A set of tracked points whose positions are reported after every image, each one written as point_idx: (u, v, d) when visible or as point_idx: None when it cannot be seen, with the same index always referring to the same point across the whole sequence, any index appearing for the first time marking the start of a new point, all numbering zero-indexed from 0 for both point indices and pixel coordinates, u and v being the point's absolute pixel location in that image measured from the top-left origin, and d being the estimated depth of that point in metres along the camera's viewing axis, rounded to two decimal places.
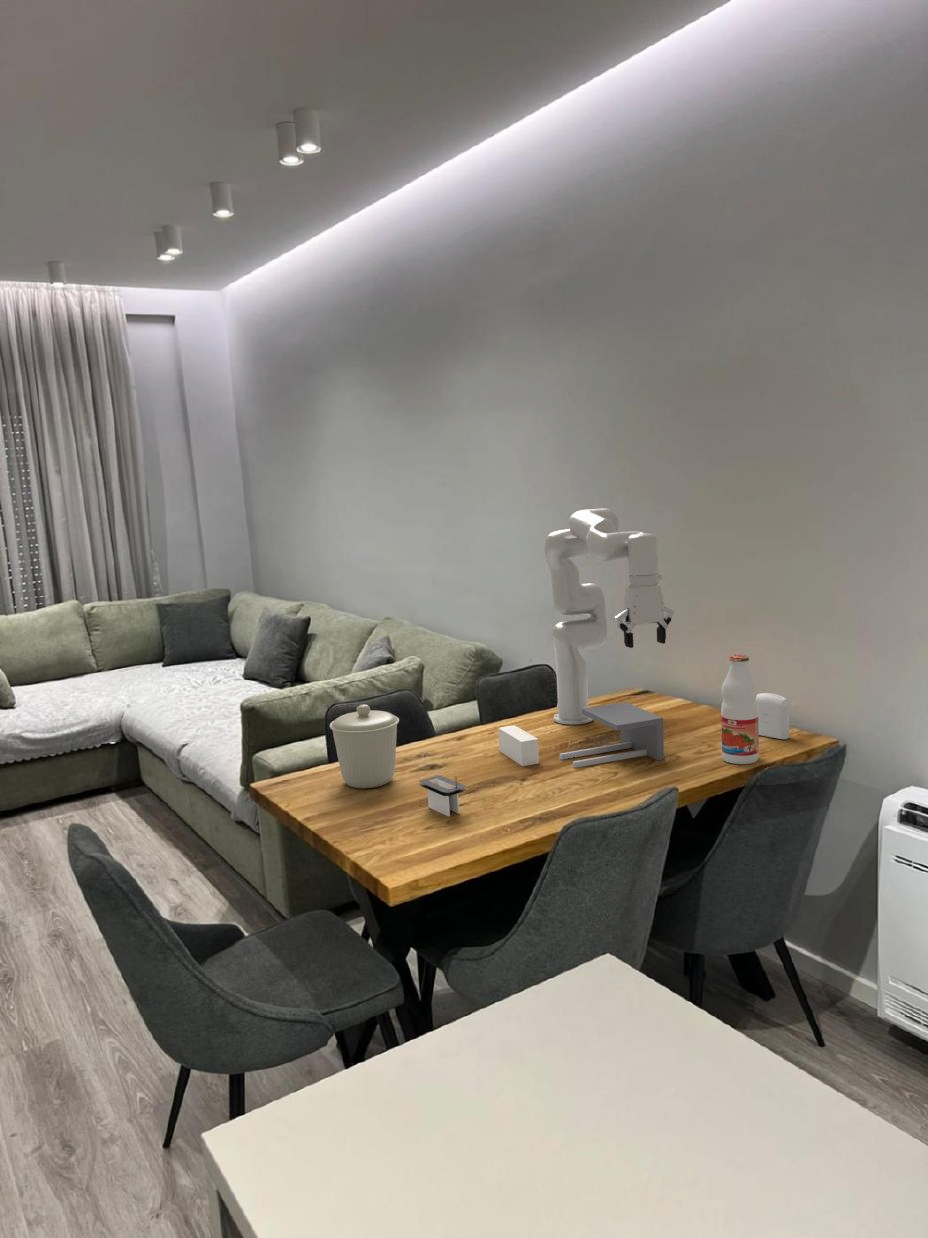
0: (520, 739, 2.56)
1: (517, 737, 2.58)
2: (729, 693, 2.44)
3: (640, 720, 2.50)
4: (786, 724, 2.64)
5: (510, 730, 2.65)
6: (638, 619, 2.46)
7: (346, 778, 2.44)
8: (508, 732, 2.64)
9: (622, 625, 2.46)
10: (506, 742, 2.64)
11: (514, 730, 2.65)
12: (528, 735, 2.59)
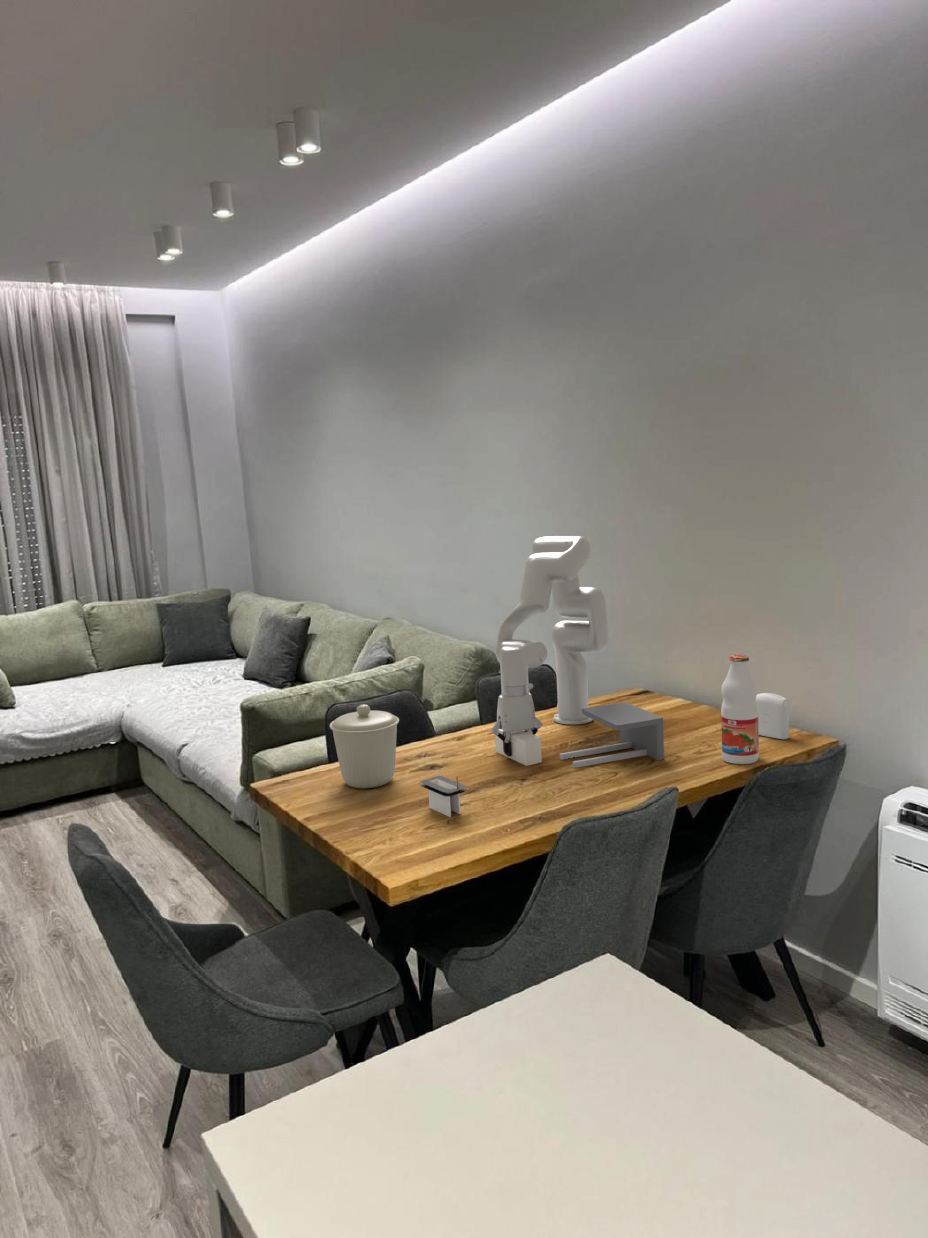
0: (523, 738, 2.56)
1: (519, 736, 2.58)
2: (729, 693, 2.44)
3: (640, 720, 2.50)
4: (786, 724, 2.64)
5: None
6: (509, 727, 2.58)
7: (346, 778, 2.44)
8: None
9: (500, 735, 2.59)
10: None
11: None
12: (529, 734, 2.59)
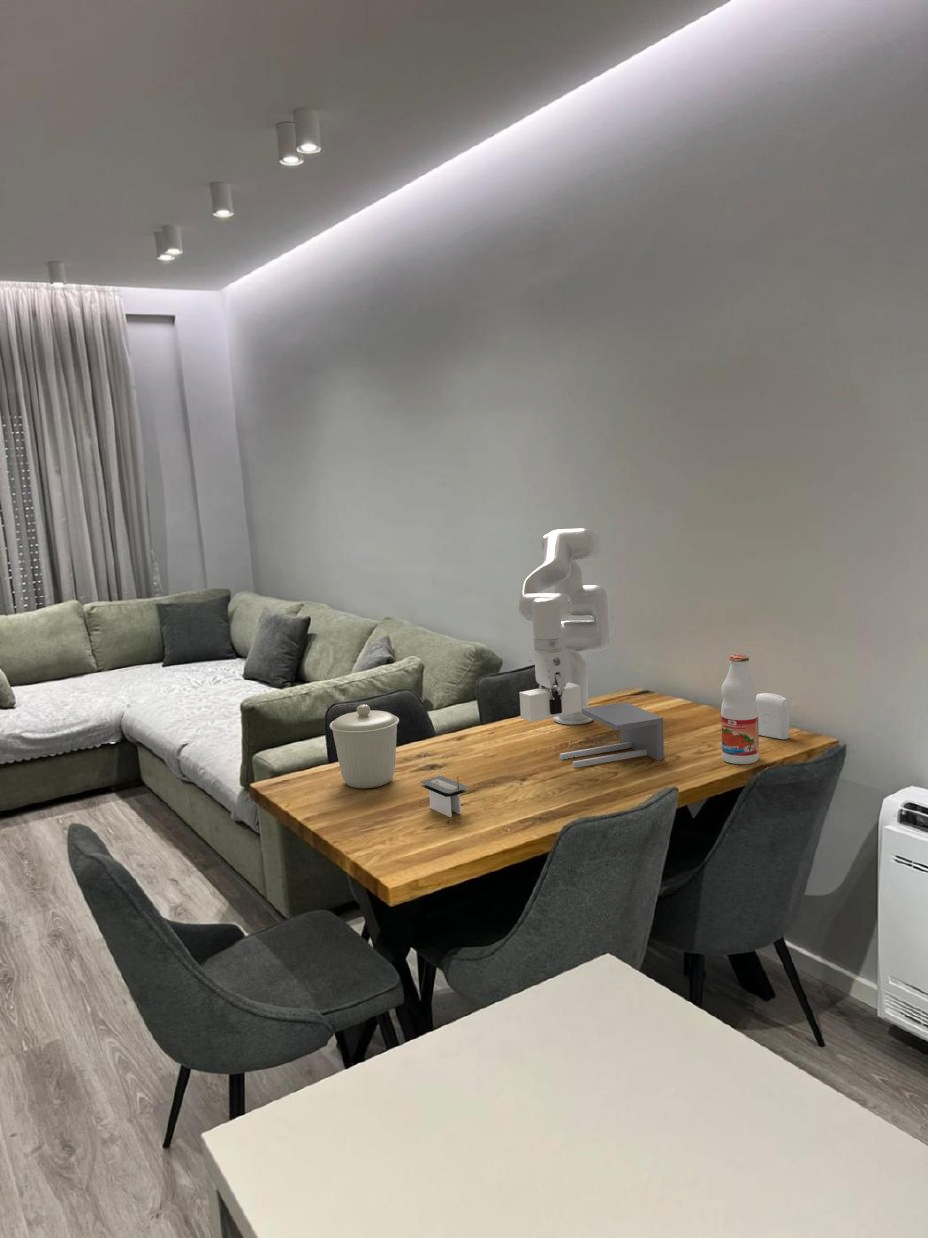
0: (527, 691, 2.49)
1: (534, 690, 2.50)
2: (729, 693, 2.44)
3: (640, 720, 2.50)
4: (786, 724, 2.64)
5: None
6: (537, 678, 2.52)
7: (346, 778, 2.44)
8: (554, 686, 2.53)
9: (538, 684, 2.55)
10: None
11: None
12: (542, 692, 2.47)
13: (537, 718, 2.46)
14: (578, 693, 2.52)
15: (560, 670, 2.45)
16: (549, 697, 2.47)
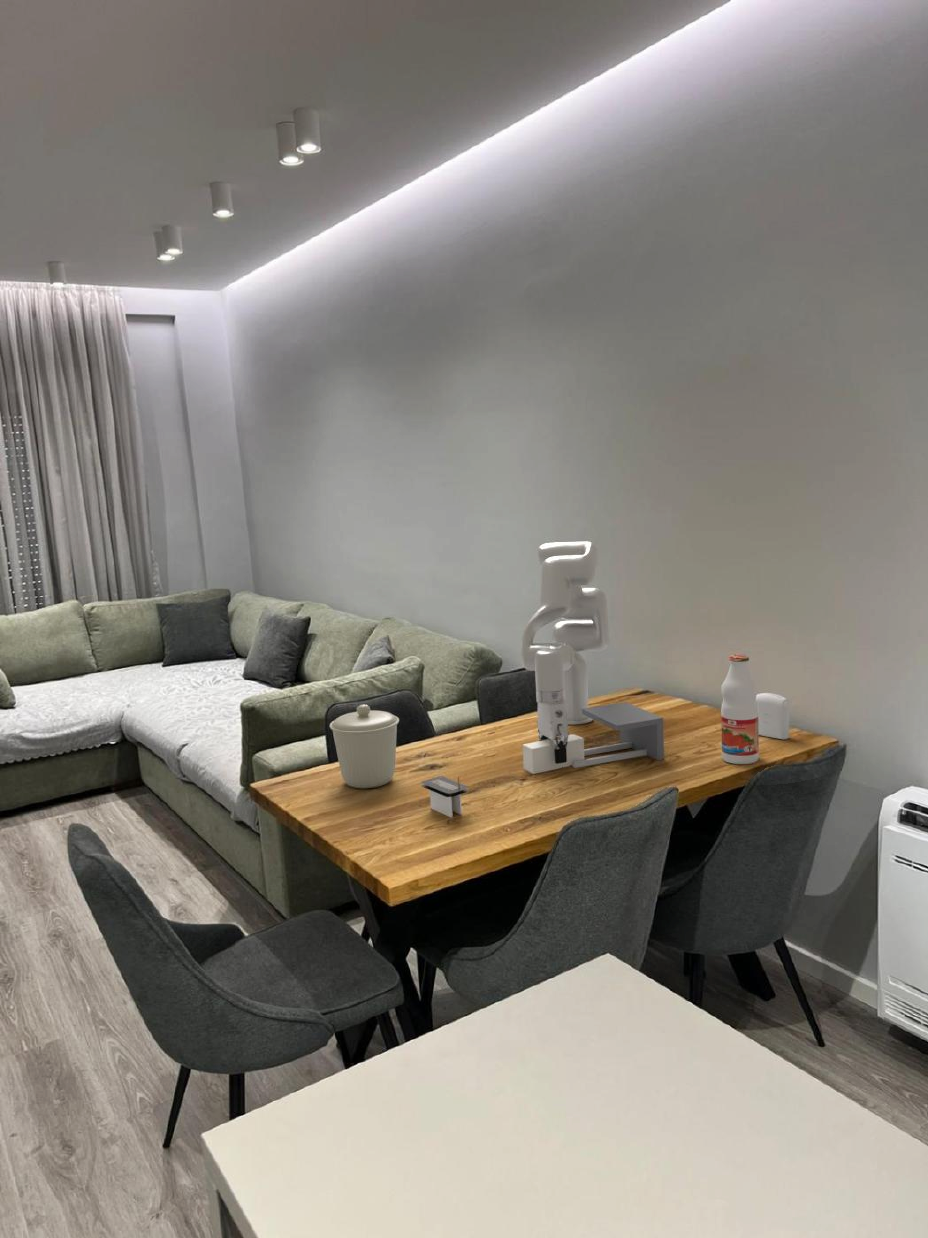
0: (530, 743, 2.51)
1: (537, 742, 2.52)
2: (729, 693, 2.44)
3: (640, 720, 2.50)
4: (786, 724, 2.64)
5: None
6: (539, 729, 2.54)
7: (346, 778, 2.44)
8: None
9: (538, 730, 2.58)
10: None
11: None
12: (544, 745, 2.49)
13: (539, 771, 2.49)
14: (582, 745, 2.54)
15: (562, 722, 2.47)
16: (552, 750, 2.50)
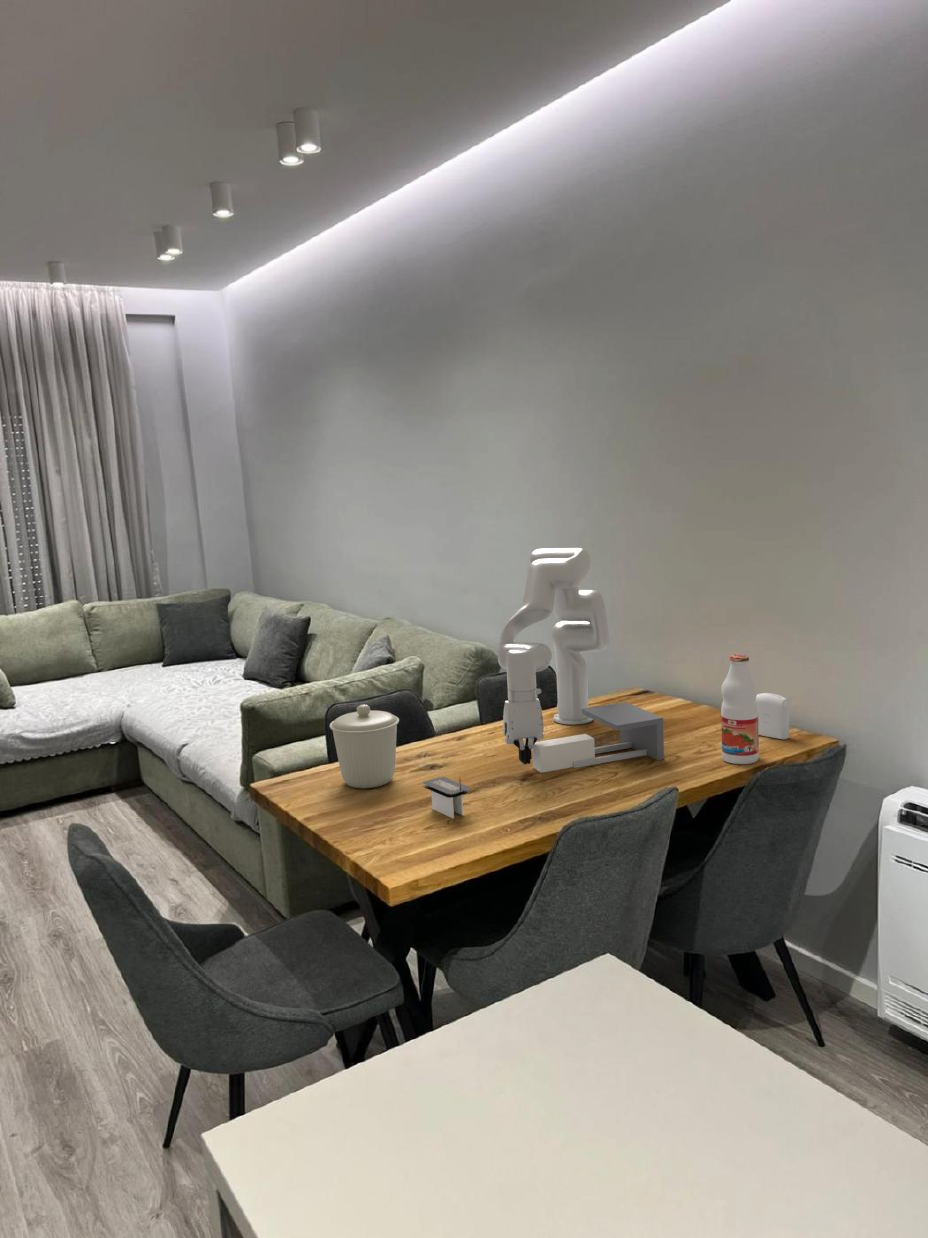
0: (540, 742, 2.52)
1: (547, 741, 2.53)
2: (729, 693, 2.44)
3: (640, 720, 2.50)
4: (786, 724, 2.64)
5: (575, 738, 2.54)
6: (516, 734, 2.46)
7: (346, 778, 2.44)
8: (568, 737, 2.55)
9: (516, 742, 2.48)
10: None
11: (573, 739, 2.53)
12: (553, 744, 2.50)
13: (547, 769, 2.49)
14: (592, 746, 2.53)
15: None
16: (560, 749, 2.50)
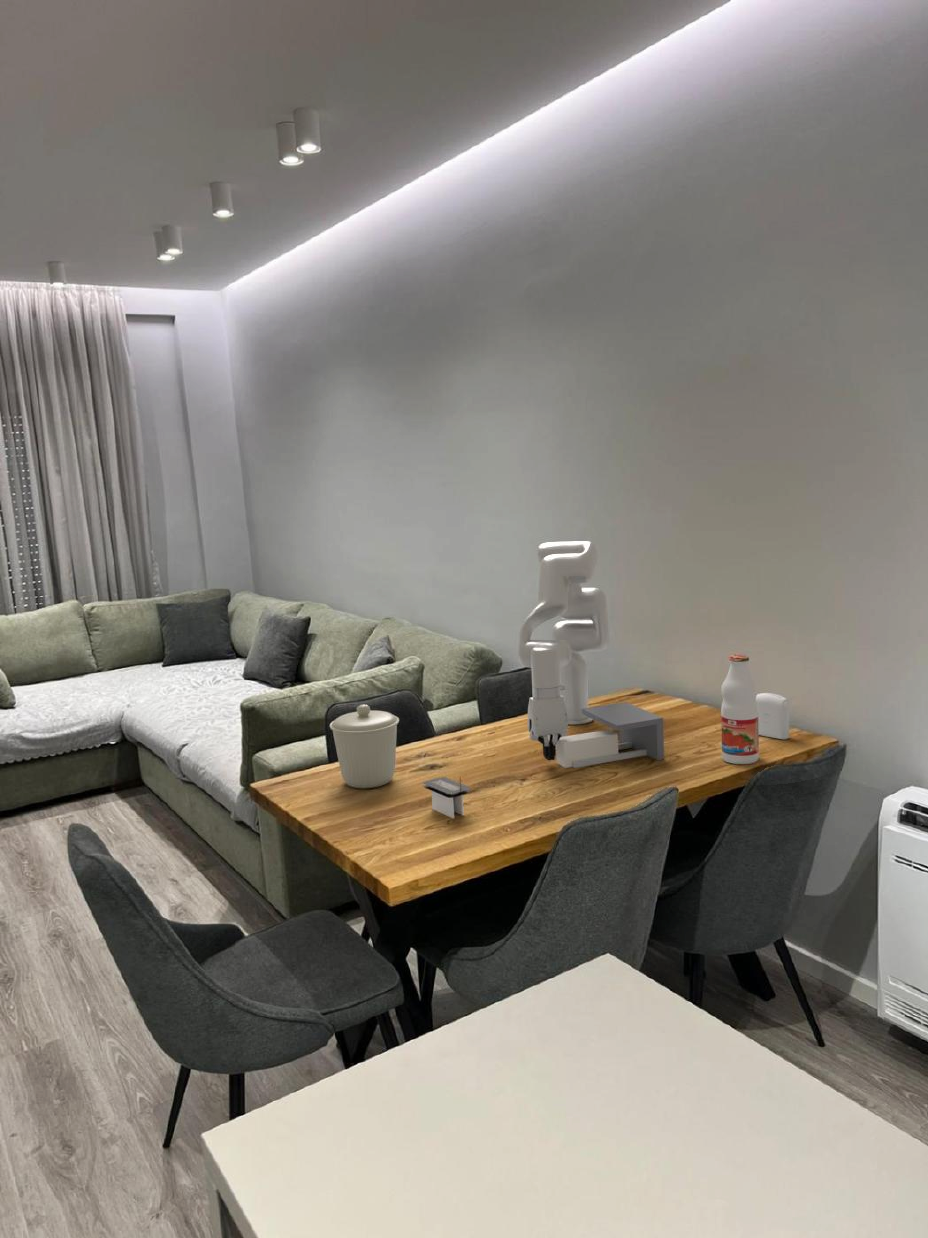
0: (564, 737, 2.54)
1: (571, 736, 2.55)
2: (729, 693, 2.44)
3: (640, 720, 2.50)
4: (786, 724, 2.64)
5: (599, 733, 2.56)
6: (540, 731, 2.48)
7: (346, 778, 2.44)
8: (591, 733, 2.57)
9: (540, 739, 2.50)
10: None
11: (596, 734, 2.55)
12: (577, 739, 2.52)
13: (571, 764, 2.52)
14: (616, 741, 2.55)
15: None
16: (584, 744, 2.52)
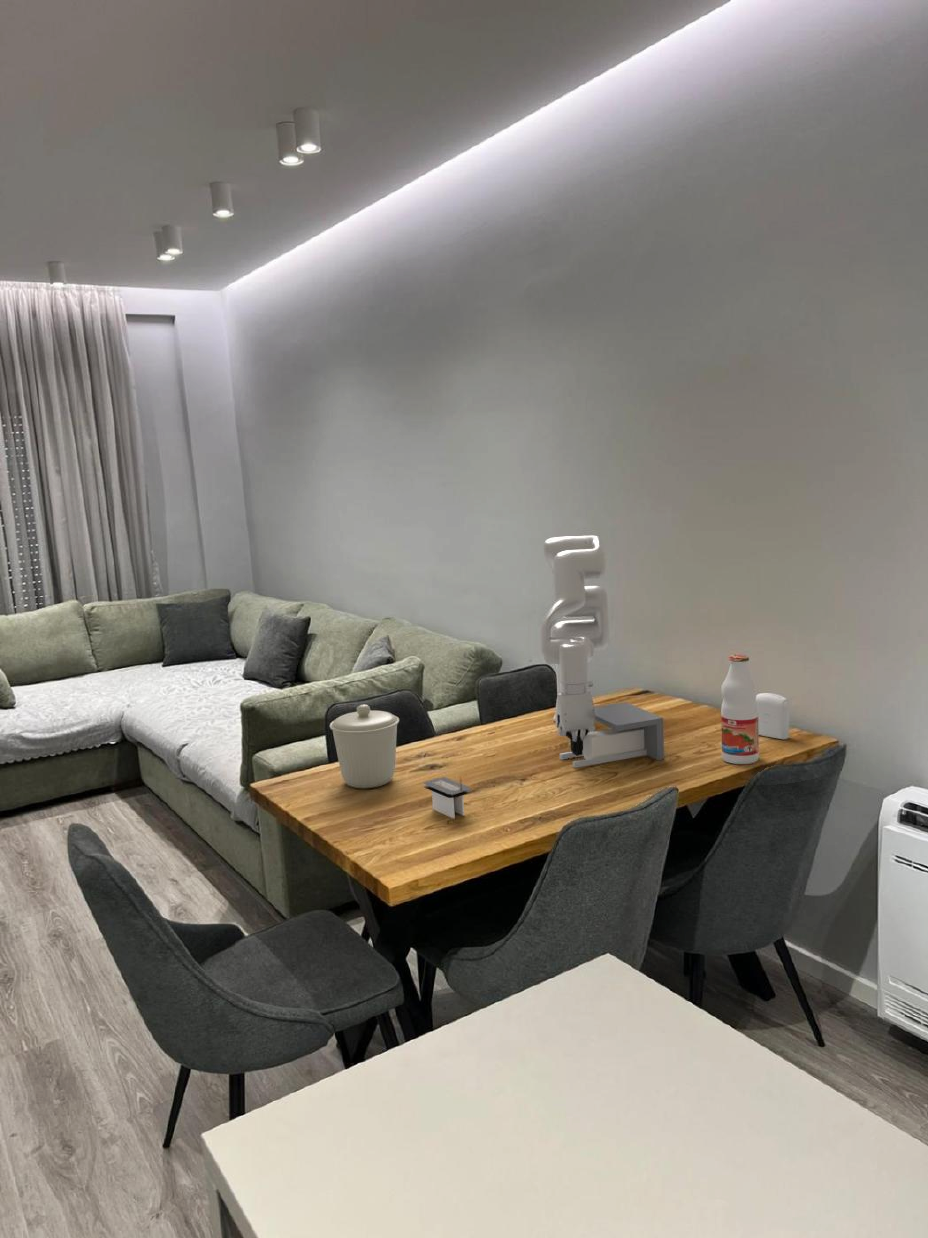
0: (591, 733, 2.57)
1: (598, 731, 2.58)
2: (729, 693, 2.44)
3: (640, 720, 2.50)
4: (786, 724, 2.64)
5: None
6: (569, 726, 2.51)
7: (346, 778, 2.44)
8: None
9: (568, 734, 2.53)
10: None
11: (623, 730, 2.58)
12: (604, 734, 2.55)
13: None
14: (642, 736, 2.58)
15: None
16: (611, 740, 2.55)
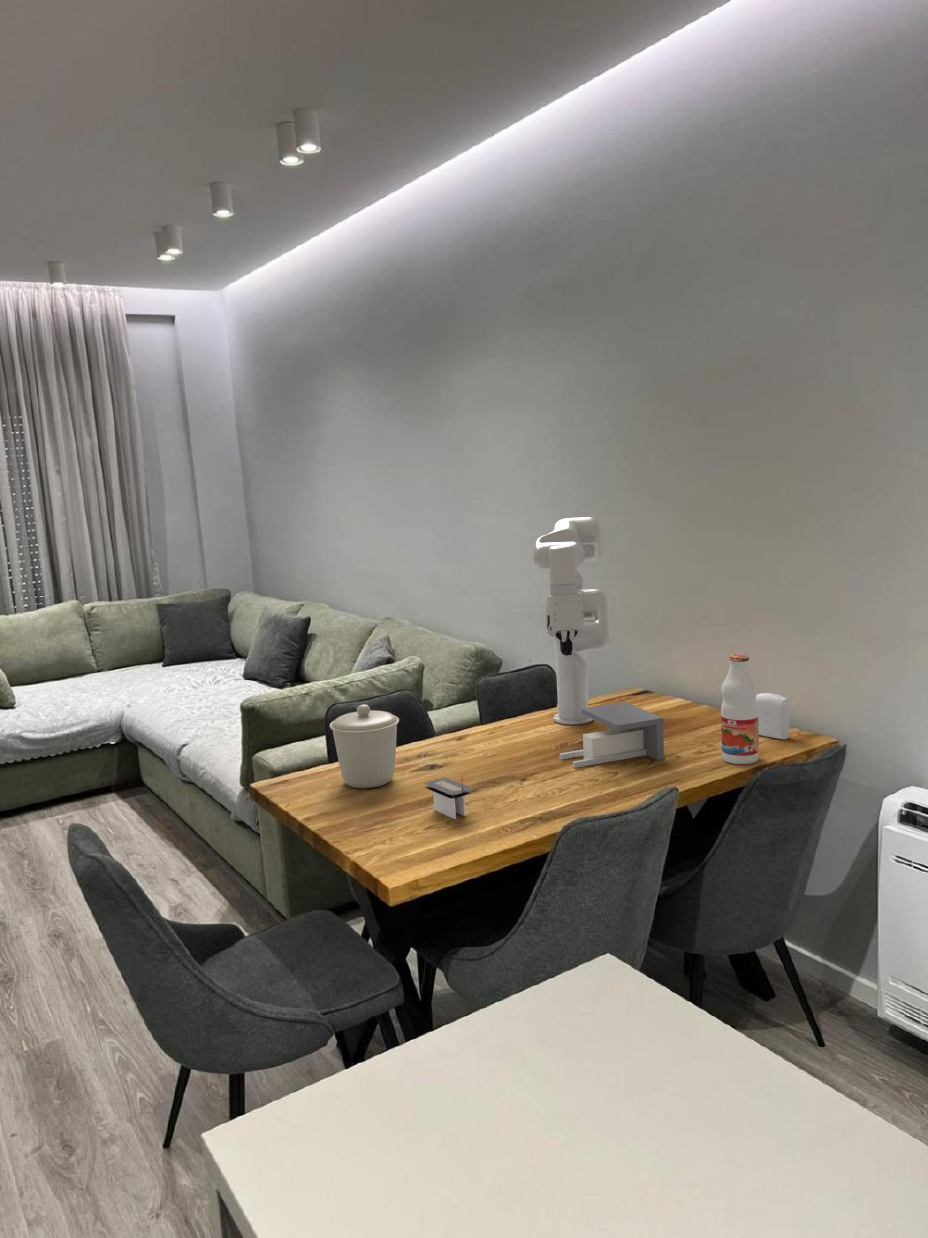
0: (590, 734, 2.57)
1: (597, 732, 2.58)
2: (729, 693, 2.44)
3: (640, 720, 2.50)
4: (786, 724, 2.64)
5: None
6: (558, 626, 2.60)
7: (346, 778, 2.44)
8: None
9: (558, 634, 2.61)
10: None
11: (622, 730, 2.58)
12: (604, 735, 2.55)
13: None
14: (641, 737, 2.58)
15: None
16: (611, 740, 2.55)
